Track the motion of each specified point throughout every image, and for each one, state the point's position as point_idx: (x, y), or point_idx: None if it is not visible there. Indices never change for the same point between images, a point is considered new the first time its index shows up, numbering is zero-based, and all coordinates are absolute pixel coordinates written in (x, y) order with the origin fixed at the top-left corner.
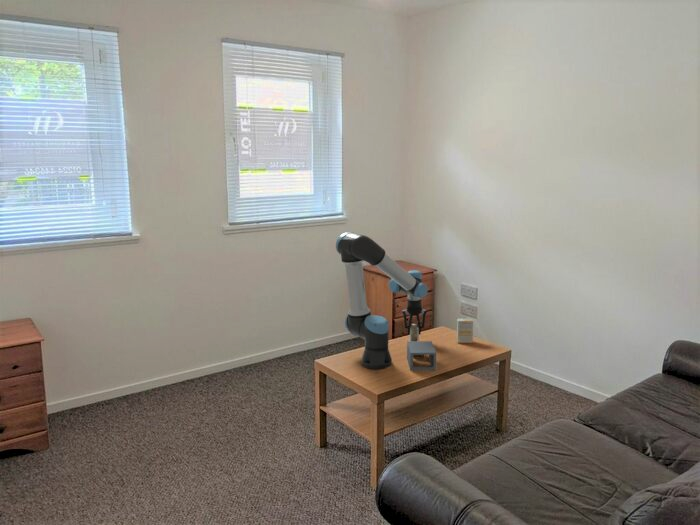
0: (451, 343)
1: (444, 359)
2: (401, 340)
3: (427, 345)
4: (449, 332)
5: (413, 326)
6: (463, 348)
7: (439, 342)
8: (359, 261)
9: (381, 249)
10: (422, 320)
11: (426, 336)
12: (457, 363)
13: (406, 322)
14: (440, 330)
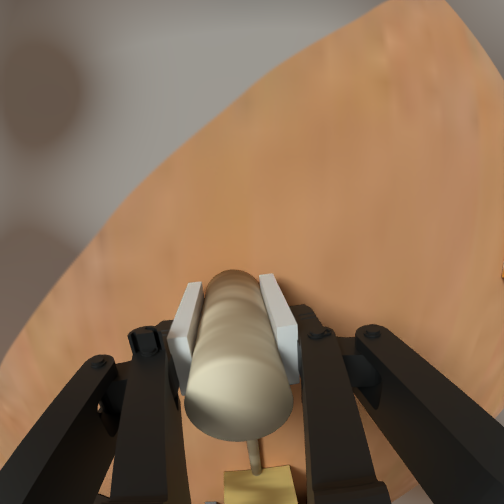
0: (479, 283)
1: None
2: (120, 263)
3: None
4: (479, 70)
5: (227, 433)
6: (495, 345)
7: (427, 276)
8: None
9: None
10: (401, 453)
11: (349, 132)
12: (404, 485)
13: (108, 463)
14: (431, 20)
